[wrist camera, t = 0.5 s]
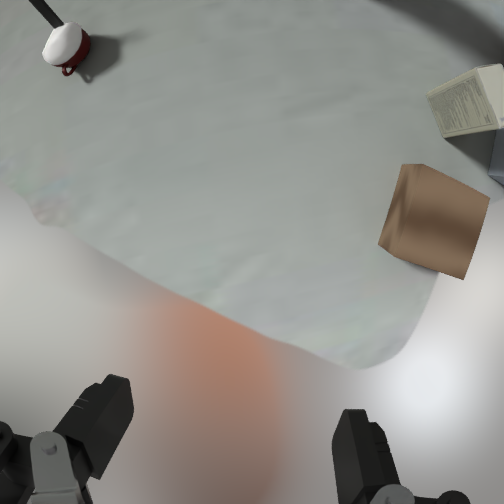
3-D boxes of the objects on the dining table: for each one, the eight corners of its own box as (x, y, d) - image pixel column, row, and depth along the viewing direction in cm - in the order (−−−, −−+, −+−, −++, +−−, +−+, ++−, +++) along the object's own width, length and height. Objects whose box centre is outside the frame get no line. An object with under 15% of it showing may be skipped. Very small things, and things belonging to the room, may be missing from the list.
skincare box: (466, 130, 31) (525, 123, 19) (441, 139, 32) (500, 131, 20) (448, 85, 30) (502, 62, 18) (422, 91, 30) (475, 66, 19)
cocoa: (84, 80, 33) (30, 64, 22) (53, 77, 33) (-2, 64, 21) (108, 19, 30) (62, -12, 19) (75, 19, 30) (27, -6, 19)
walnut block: (401, 164, 33) (422, 164, 27) (463, 193, 33) (490, 197, 27) (377, 243, 36) (394, 256, 30) (440, 265, 36) (463, 280, 30)
